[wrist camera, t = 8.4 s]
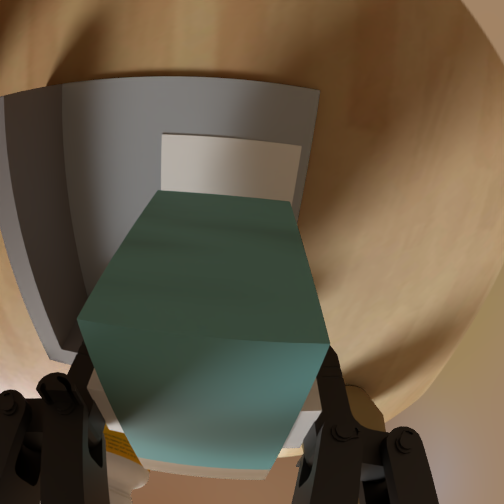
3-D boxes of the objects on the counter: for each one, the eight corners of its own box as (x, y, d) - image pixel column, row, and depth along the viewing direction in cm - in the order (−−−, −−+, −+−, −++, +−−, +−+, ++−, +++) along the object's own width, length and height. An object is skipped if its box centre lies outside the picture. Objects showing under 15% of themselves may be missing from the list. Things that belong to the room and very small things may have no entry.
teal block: (259, 358, 16) (264, 479, 10) (167, 350, 16) (144, 468, 10) (289, 201, 12) (330, 343, 6) (157, 190, 11) (76, 318, 5)
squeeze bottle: (300, 423, 30) (315, 574, 15) (291, 387, 26) (309, 580, 11) (372, 408, 30) (404, 554, 14) (378, 368, 25) (426, 552, 10)
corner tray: (45, 86, 13) (-18, 101, 8) (318, 90, 14) (352, 98, 9) (77, 307, 21) (49, 359, 17) (273, 329, 22) (278, 391, 18)
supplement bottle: (110, 348, 24) (67, 486, 13) (176, 382, 26) (157, 516, 15) (90, 378, 26) (55, 491, 15) (147, 406, 29) (127, 517, 18)
